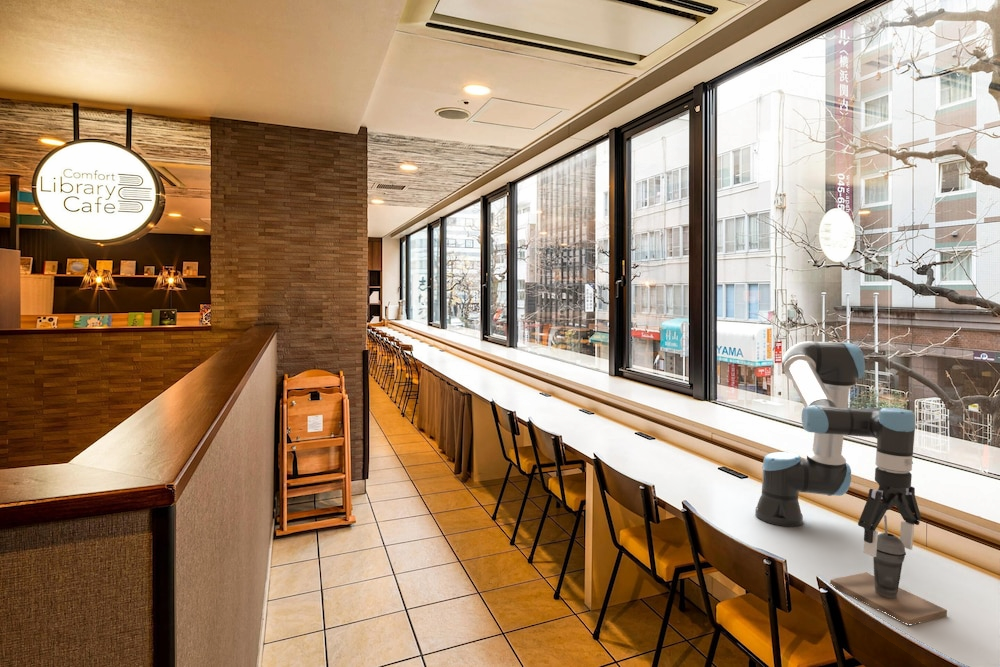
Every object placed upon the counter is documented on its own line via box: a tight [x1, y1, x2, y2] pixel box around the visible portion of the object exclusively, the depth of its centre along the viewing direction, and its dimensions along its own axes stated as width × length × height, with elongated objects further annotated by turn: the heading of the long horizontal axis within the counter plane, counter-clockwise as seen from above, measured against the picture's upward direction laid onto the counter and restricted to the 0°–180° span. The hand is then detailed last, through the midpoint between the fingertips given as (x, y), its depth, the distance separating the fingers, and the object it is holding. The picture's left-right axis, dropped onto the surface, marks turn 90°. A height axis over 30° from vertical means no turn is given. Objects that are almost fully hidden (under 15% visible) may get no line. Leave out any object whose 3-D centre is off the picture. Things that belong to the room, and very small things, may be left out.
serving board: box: [829, 572, 948, 625], centre depth 139 cm, size 20×14×2 cm
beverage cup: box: [872, 514, 907, 598], centre depth 139 cm, size 7×7×20 cm
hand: (888, 551), depth 139 cm, fingers open, 13 cm apart
